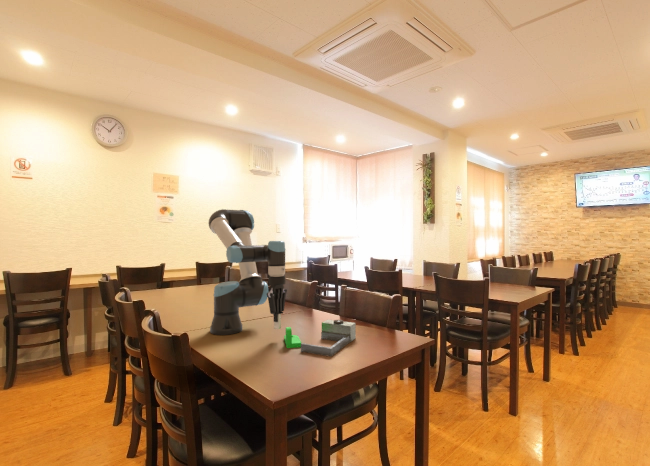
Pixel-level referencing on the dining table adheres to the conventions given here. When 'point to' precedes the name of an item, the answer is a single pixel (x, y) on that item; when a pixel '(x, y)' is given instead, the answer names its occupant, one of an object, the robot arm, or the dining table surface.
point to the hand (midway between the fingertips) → (277, 328)
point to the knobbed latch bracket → (333, 337)
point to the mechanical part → (291, 339)
